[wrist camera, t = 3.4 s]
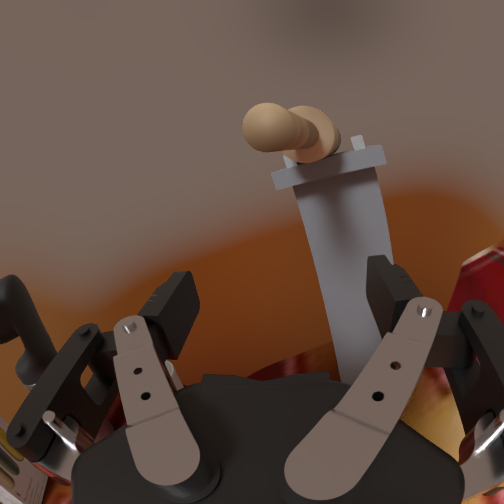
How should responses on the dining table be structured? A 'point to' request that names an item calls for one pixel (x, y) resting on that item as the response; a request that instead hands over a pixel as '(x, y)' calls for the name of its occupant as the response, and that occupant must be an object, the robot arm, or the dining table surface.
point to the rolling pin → (291, 132)
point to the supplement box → (18, 475)
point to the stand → (343, 242)
